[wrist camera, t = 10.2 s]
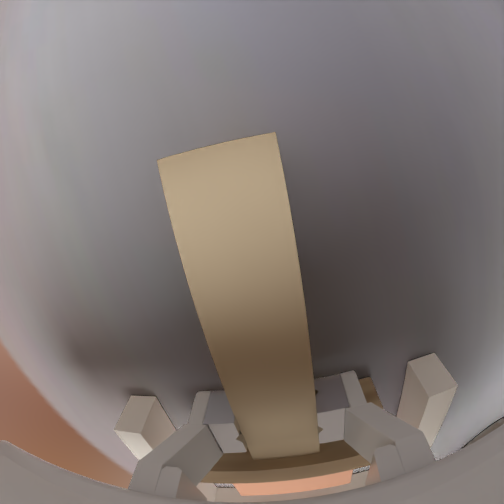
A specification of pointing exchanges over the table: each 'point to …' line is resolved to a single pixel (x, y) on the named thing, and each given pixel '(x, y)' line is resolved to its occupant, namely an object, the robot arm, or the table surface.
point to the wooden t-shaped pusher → (252, 307)
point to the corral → (410, 411)
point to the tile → (294, 484)
